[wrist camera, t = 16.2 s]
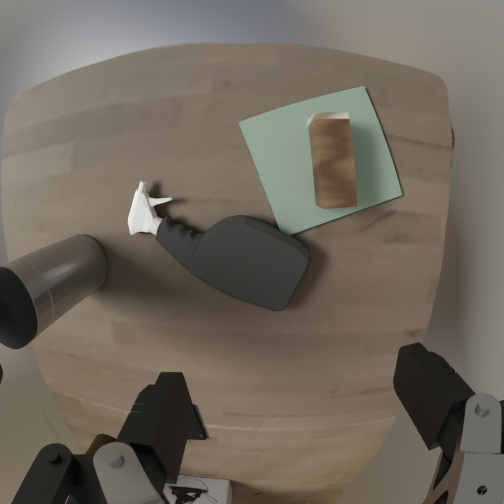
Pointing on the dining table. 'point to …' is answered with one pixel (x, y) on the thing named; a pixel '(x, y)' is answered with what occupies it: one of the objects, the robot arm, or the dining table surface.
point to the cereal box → (199, 491)
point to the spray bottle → (229, 253)
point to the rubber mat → (300, 162)
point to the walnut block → (332, 160)
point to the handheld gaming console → (196, 428)
